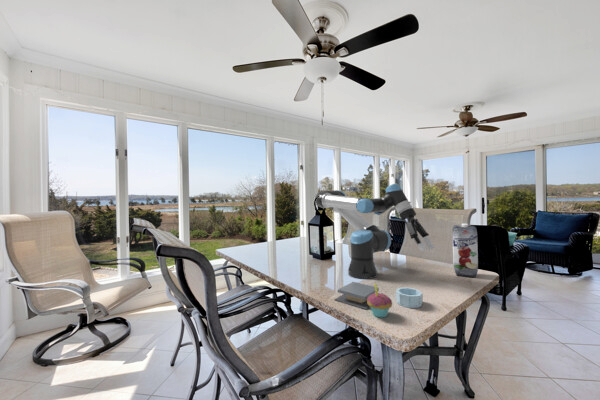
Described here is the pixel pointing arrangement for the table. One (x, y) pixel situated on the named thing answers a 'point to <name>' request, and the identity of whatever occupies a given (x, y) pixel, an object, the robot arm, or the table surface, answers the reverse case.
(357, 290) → the sheet
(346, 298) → the dark tray with block
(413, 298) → the bowl
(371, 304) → the cupcake
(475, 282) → the table surface
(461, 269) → the juice carton
